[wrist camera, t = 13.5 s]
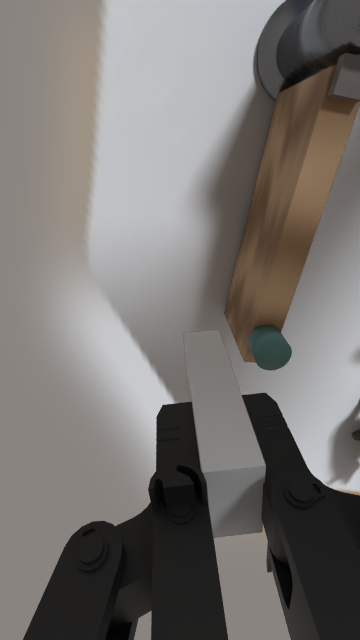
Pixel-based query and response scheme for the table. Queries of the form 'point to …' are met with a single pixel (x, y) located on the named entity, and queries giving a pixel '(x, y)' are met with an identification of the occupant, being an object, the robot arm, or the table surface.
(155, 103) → the table surface
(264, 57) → the hinge post
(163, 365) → the table surface
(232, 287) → the gate
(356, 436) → the rhino figurine
